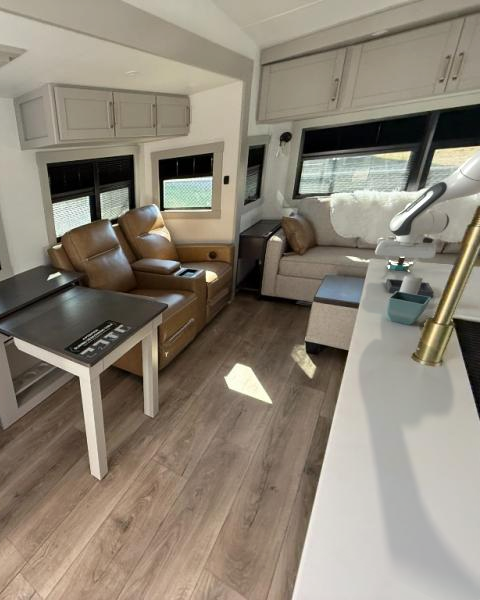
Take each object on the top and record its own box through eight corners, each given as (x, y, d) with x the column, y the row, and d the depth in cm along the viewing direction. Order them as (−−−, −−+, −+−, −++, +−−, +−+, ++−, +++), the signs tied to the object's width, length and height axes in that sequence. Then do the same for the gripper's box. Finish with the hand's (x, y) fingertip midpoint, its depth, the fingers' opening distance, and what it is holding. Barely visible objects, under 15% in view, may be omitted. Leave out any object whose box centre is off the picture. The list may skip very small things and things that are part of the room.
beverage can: (391, 304, 122) (401, 275, 117) (402, 303, 122) (412, 273, 118) (404, 309, 118) (415, 279, 113) (416, 307, 118) (427, 277, 113)
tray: (426, 288, 132) (428, 282, 131) (431, 298, 124) (433, 292, 123) (385, 284, 140) (387, 278, 139) (388, 293, 131) (389, 287, 130)
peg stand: (407, 269, 154) (411, 256, 151) (409, 273, 149) (414, 260, 146) (387, 267, 158) (391, 254, 155) (388, 271, 153) (392, 258, 150)
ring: (406, 267, 154) (408, 262, 153) (408, 271, 149) (410, 266, 148) (388, 266, 157) (390, 261, 156) (390, 269, 153) (391, 265, 152)
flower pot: (381, 320, 112) (388, 297, 108) (388, 313, 116) (396, 290, 112) (415, 329, 105) (424, 304, 101) (422, 320, 109) (431, 297, 106)
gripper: (379, 237, 151) (371, 265, 156) (441, 240, 139) (430, 269, 144) (378, 234, 155) (370, 261, 161) (438, 237, 143) (428, 266, 149)
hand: (399, 265), depth 152 cm, fingers closed on ring, 6 cm apart
